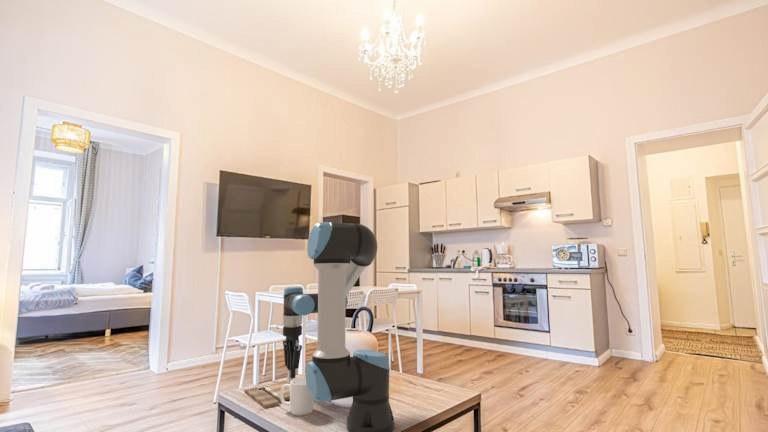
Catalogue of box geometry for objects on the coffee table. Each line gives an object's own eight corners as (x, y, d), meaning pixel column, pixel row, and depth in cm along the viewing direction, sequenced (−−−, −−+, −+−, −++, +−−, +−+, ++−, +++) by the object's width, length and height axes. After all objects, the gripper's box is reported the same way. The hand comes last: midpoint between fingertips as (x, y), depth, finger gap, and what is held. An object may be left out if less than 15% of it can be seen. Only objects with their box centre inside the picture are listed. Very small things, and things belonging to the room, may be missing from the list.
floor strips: (278, 404, 143) (278, 401, 143) (264, 408, 140) (264, 404, 140) (258, 389, 158) (258, 386, 159) (244, 392, 155) (244, 389, 155)
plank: (303, 394, 151) (303, 390, 151) (279, 402, 145) (278, 398, 145) (285, 383, 164) (285, 379, 164) (262, 390, 158) (262, 386, 158)
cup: (310, 416, 133) (311, 385, 134) (275, 415, 134) (276, 384, 135) (316, 407, 141) (316, 377, 142) (283, 405, 142) (284, 376, 143)
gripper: (308, 326, 156) (307, 388, 154) (294, 322, 167) (292, 379, 164) (291, 329, 152) (289, 392, 150) (277, 324, 162) (275, 383, 160)
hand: (291, 385), depth 157 cm, fingers closed
